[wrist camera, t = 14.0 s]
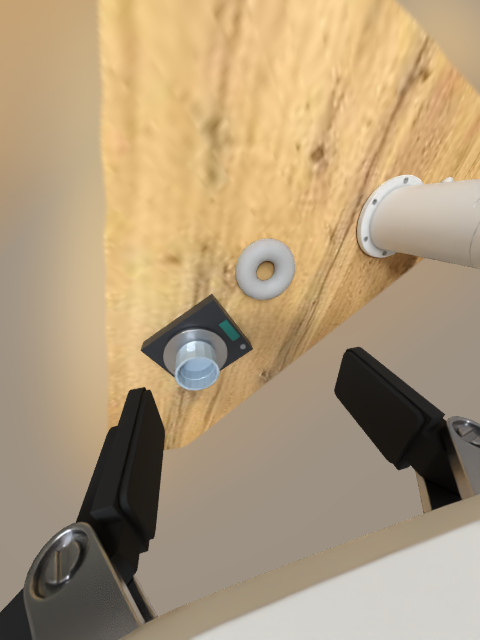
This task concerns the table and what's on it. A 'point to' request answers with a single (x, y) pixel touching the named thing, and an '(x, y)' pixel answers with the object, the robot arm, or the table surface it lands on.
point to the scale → (205, 317)
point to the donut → (254, 257)
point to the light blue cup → (196, 366)
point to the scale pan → (190, 336)
